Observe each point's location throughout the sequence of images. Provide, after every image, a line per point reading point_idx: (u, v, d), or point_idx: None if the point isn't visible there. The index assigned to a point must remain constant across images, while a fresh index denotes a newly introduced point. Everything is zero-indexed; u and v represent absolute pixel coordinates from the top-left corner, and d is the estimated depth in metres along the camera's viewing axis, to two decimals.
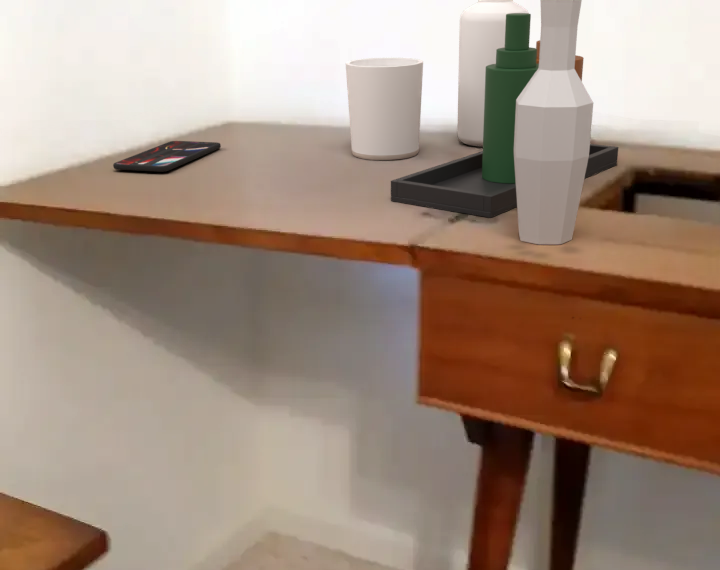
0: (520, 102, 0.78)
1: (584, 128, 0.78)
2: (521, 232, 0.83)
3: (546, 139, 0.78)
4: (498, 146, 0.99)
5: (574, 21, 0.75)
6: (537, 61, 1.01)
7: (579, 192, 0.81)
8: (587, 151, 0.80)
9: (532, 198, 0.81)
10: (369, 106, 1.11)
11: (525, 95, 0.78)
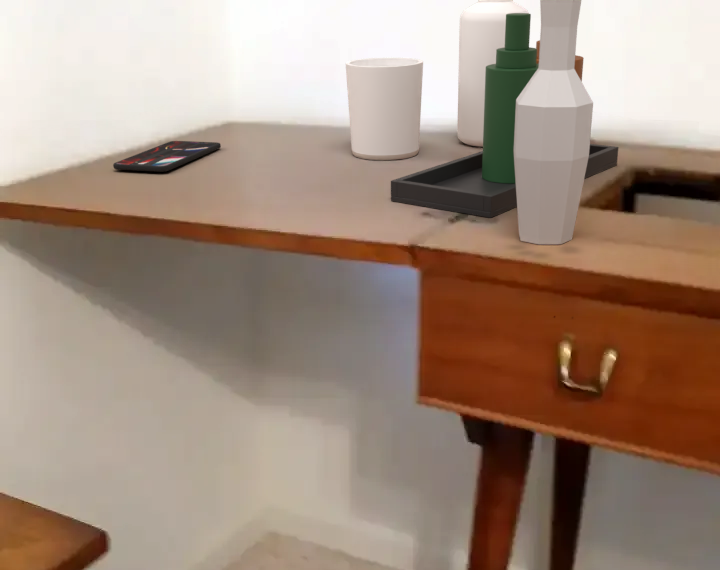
0: (520, 102, 0.78)
1: (584, 128, 0.78)
2: (521, 232, 0.83)
3: (545, 139, 0.78)
4: (498, 146, 0.99)
5: (574, 21, 0.75)
6: (537, 61, 1.01)
7: (579, 192, 0.81)
8: (587, 151, 0.80)
9: (532, 198, 0.81)
10: (369, 106, 1.11)
11: (525, 95, 0.78)
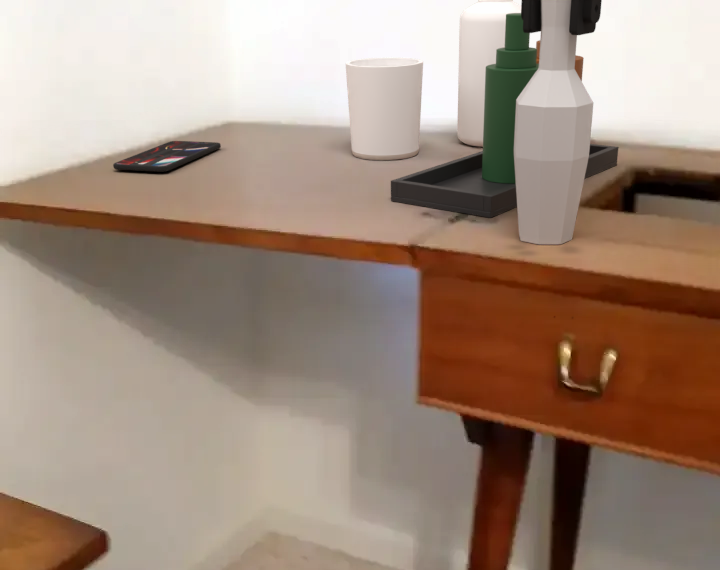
0: (520, 102, 0.78)
1: (584, 128, 0.78)
2: (521, 232, 0.83)
3: (546, 139, 0.78)
4: (498, 146, 0.99)
5: None
6: (537, 61, 1.01)
7: (579, 192, 0.81)
8: (587, 151, 0.80)
9: (532, 199, 0.81)
10: (369, 106, 1.11)
11: (525, 95, 0.78)
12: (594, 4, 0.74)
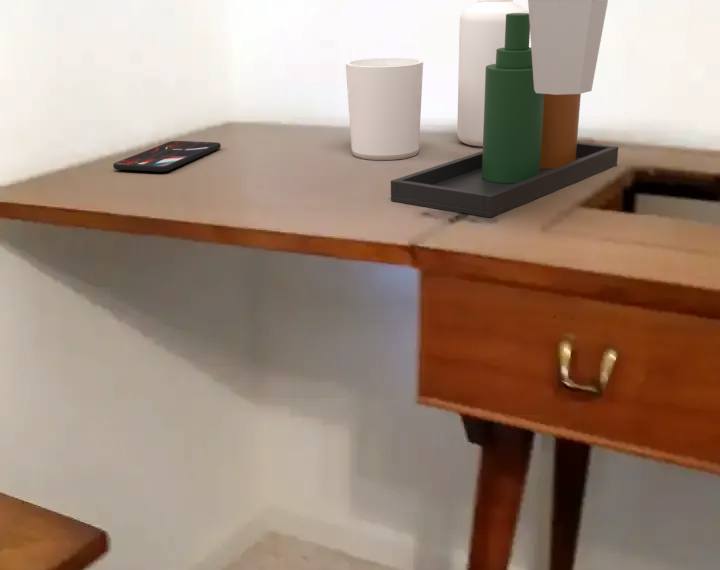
0: None
1: None
2: (537, 83, 0.77)
3: None
4: (498, 146, 0.99)
5: None
6: None
7: (599, 35, 0.75)
8: None
9: (549, 42, 0.75)
10: (369, 106, 1.11)
11: None
12: None
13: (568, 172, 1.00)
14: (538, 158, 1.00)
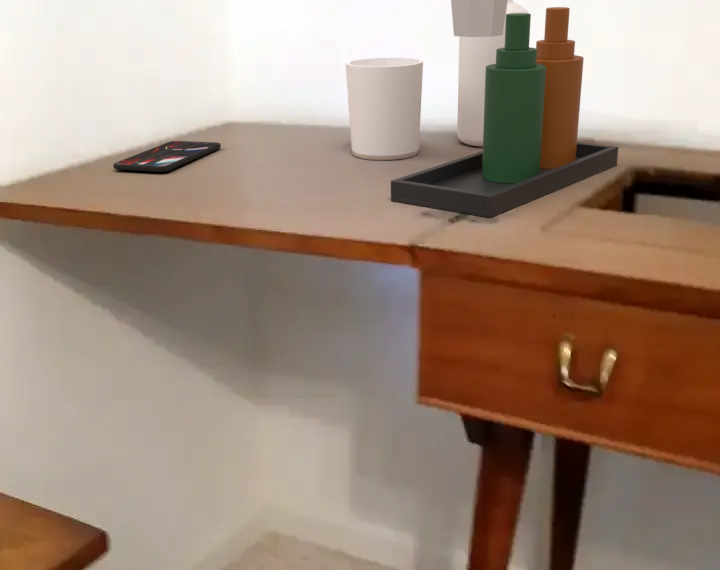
0: None
1: None
2: (454, 27, 0.88)
3: None
4: (498, 146, 0.99)
5: None
6: (537, 61, 1.01)
7: None
8: None
9: None
10: (369, 106, 1.11)
11: None
12: None
13: (568, 172, 1.00)
14: (538, 158, 1.00)
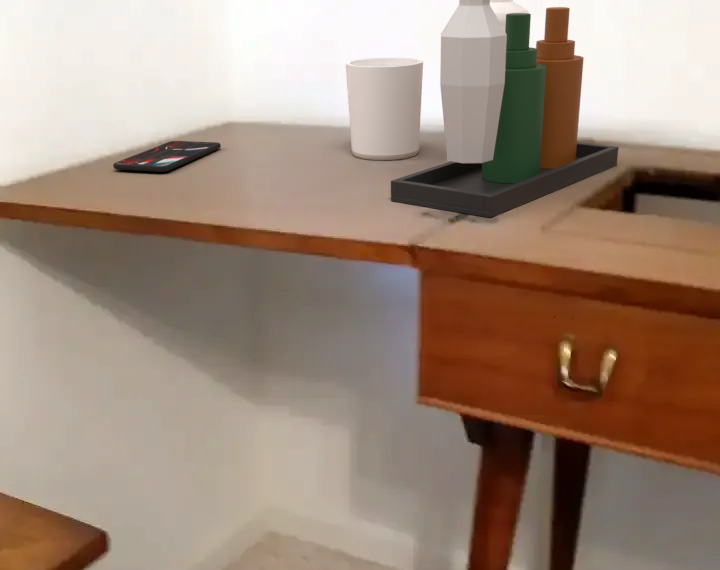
0: (442, 34, 0.89)
1: (499, 57, 0.89)
2: (447, 153, 0.94)
3: (464, 67, 0.89)
4: (498, 146, 0.99)
5: None
6: (537, 61, 1.01)
7: (497, 116, 0.92)
8: (503, 78, 0.91)
9: (455, 121, 0.92)
10: (369, 106, 1.11)
11: (447, 28, 0.89)
12: None
13: (568, 172, 1.00)
14: (538, 158, 1.00)
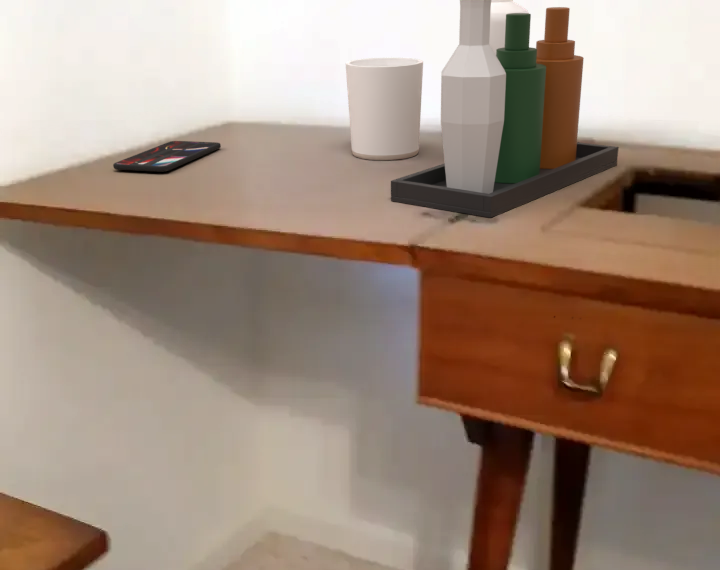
0: (443, 73, 0.90)
1: (498, 95, 0.91)
2: None
3: (465, 105, 0.90)
4: None
5: (487, 2, 0.88)
6: (537, 61, 1.01)
7: (497, 152, 0.94)
8: (502, 116, 0.92)
9: (456, 158, 0.93)
10: (369, 106, 1.11)
11: (447, 67, 0.90)
12: None
13: (568, 172, 1.00)
14: (538, 158, 1.00)
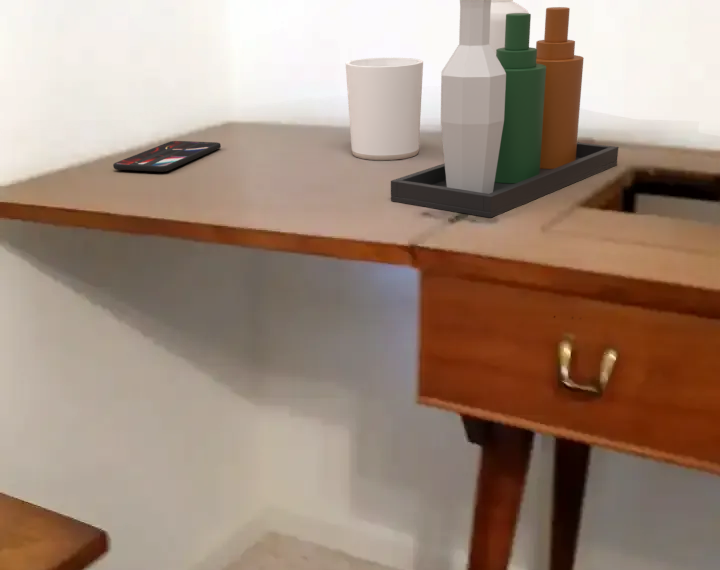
0: (443, 73, 0.90)
1: (498, 95, 0.91)
2: None
3: (465, 105, 0.90)
4: None
5: (487, 3, 0.88)
6: (537, 61, 1.01)
7: (497, 152, 0.94)
8: (502, 116, 0.92)
9: (456, 158, 0.93)
10: (369, 106, 1.11)
11: (447, 67, 0.90)
12: None
13: (568, 172, 1.00)
14: (538, 158, 1.00)
